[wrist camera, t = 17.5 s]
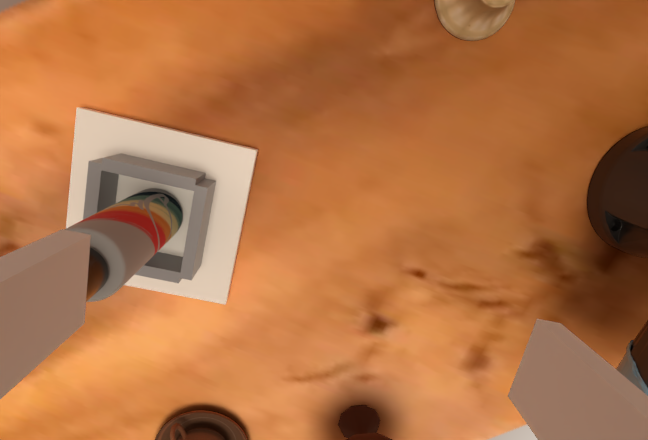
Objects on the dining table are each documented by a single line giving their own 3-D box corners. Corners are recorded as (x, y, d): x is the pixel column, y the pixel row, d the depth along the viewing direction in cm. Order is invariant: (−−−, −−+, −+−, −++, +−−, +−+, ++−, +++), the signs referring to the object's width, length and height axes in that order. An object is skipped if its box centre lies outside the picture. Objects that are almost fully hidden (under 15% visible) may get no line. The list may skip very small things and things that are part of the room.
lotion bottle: (192, 201, 43) (104, 277, 23) (172, 247, 44) (72, 354, 25) (141, 177, 42) (4, 235, 22) (121, 224, 43) (-24, 318, 24)
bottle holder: (258, 149, 43) (252, 154, 38) (227, 298, 47) (218, 322, 42) (84, 107, 41) (52, 107, 36) (69, 267, 45) (39, 288, 40)
